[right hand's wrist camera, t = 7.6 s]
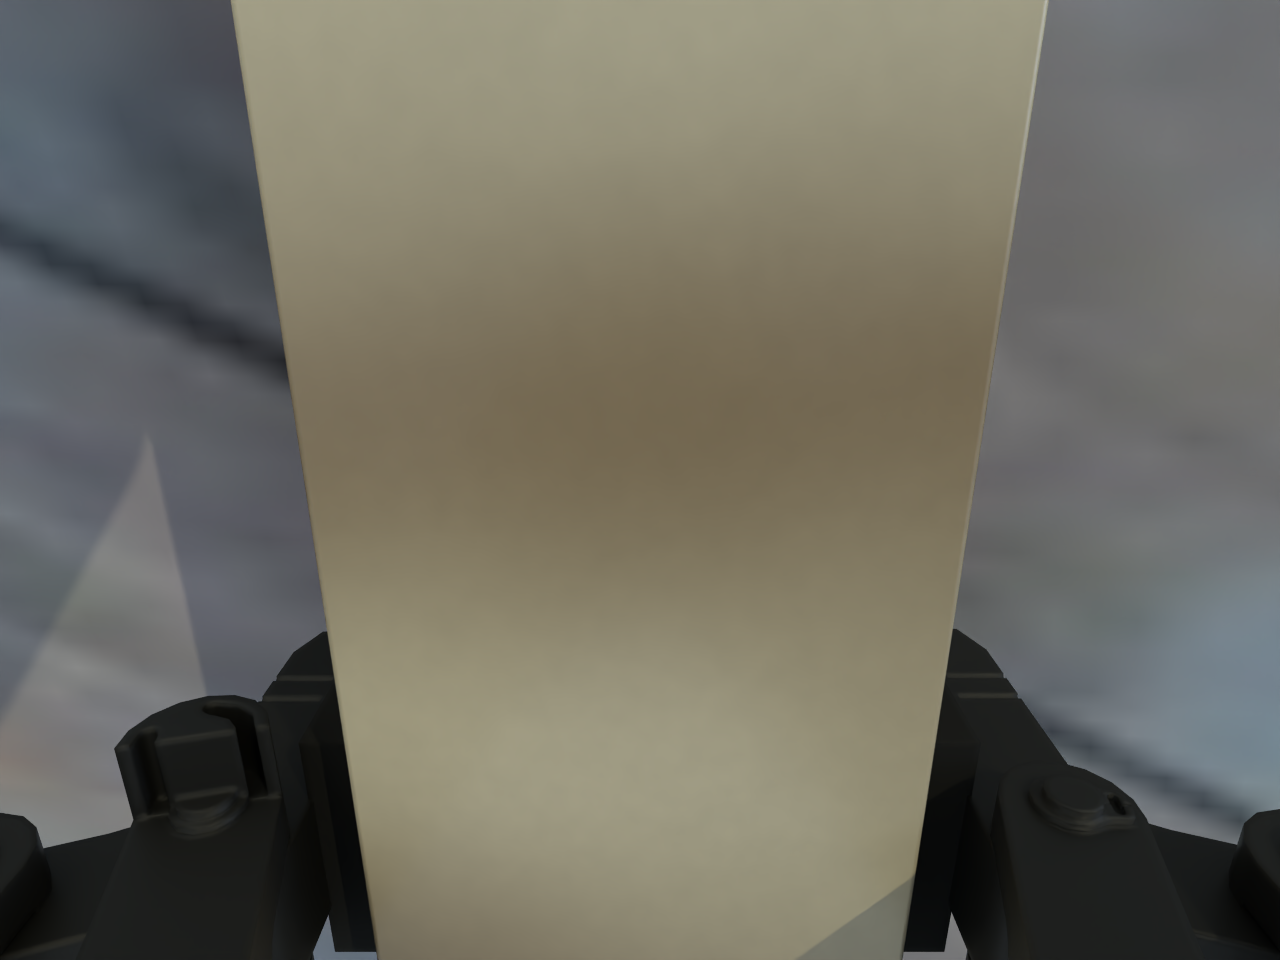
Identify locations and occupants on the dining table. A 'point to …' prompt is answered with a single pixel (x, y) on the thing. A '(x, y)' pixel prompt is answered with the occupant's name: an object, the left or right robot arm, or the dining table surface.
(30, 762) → the dining table surface
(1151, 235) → the dining table surface
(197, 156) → the dining table surface
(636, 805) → the plank
